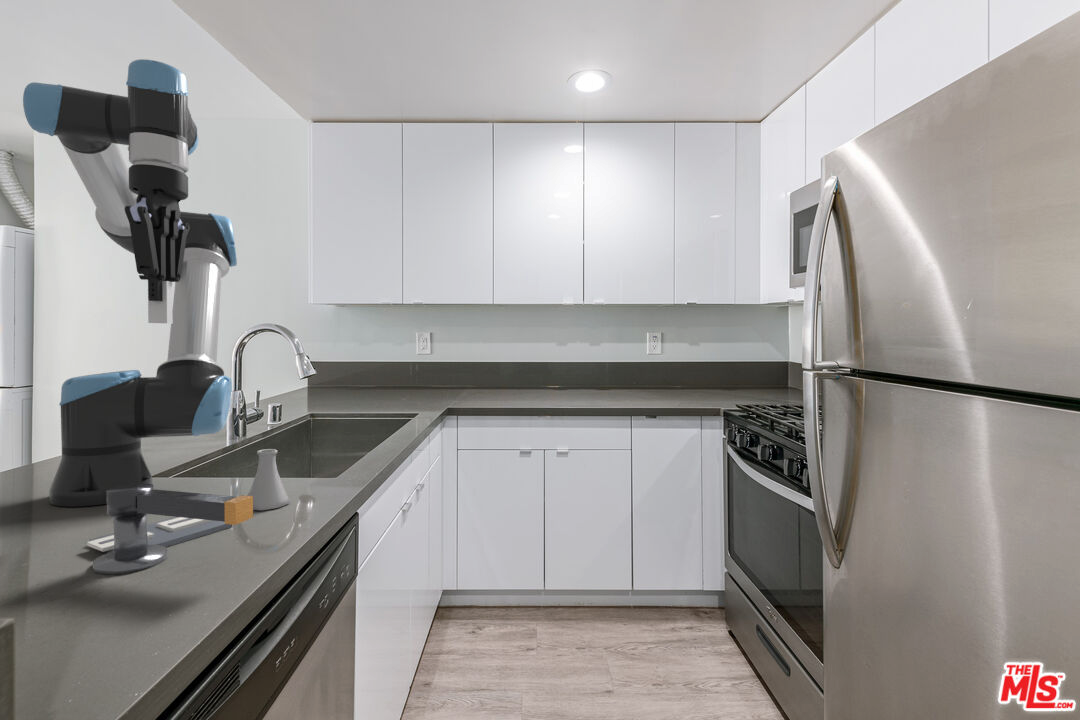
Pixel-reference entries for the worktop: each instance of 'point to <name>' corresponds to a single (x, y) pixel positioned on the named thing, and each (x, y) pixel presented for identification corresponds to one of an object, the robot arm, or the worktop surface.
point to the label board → (167, 532)
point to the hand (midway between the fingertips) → (160, 323)
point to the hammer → (177, 504)
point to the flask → (267, 483)
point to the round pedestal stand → (130, 548)
